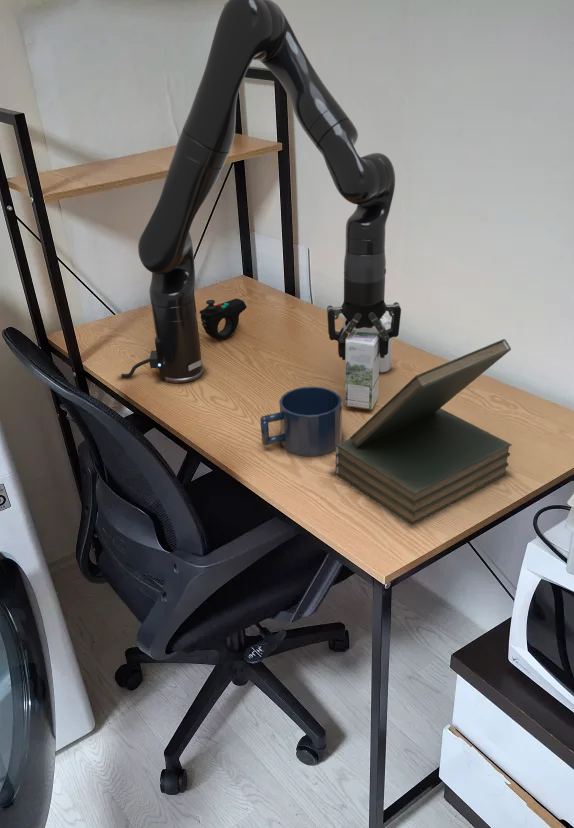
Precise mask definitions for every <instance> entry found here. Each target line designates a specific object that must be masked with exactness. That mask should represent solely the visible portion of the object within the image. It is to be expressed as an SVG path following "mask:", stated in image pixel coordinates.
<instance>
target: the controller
mask: <svg viewBox="0 0 574 828" xmlns="http://www.w3.org/2000/svg"><path fill="white" fill-rule="evenodd" d="M205 303H206V305H207V306H206V307H205V308H203V309H201V310H199V315H200V322H201V327H203V330H204V332H205V333H206V335H208V336H209V337H210V338H212V339H214V340H217V341H224V340H227V339H228V338H230V337H231V336H233V334H235V332H236V330H237V328H238V326H239V323H240V315H241V314H242V313H243V312H244V311H245V310H246V309H247V305H246V303H245V301H244V299H243V300H242V299H240V298H233V299H230V300H227V301H225V302H222V303H217V304H216V301H215V300H214V299H208V300H206V301H205ZM215 304H216V305H215ZM222 320H224V326H223V328H222V329H221V330H220V331H219V325H220V322H221V321H222Z"/></svg>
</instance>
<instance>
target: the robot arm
mask: <svg viewBox="0 0 574 828" xmlns="http://www.w3.org/2000/svg"><path fill="white" fill-rule="evenodd" d="M220 12H221V13H220V15H219V18H218V21H217V24H216V28H215V31H214V34H213V39H212V42H211V46H210V50H209V53H208V58H207V61H206V63H205V64H206V65H205V68H204V71H203V74H202V76H201V80H200V83H199V85H198V87H197V89H196V94H195V95H194V99H193V101H192V105H191V107H190V110H189V113H188V115H187V118H186V119H185V122H184V124H183V127H182V130H181V132H180V134H179V137H178V140H177V143H176V146H175V149H174V152H173V155H172V158H171V161H170V164H169V167H168V170H167V174H166V177H165V179H164V183H163V186H162V190H161V192H160V196H159V199H158V200H157V204H156V205H155V208H154V210H153V212H152V214H151V216H150V218H149V220H148V222H147V224H146V226H145V227H144V230H143V231H142V233H141V234H140V236H139V239H138V243H137V252H138V257H139V259H140V263H141V264H142V265H143V267H144V268H145V269H146V270H147V271H149V272H150V273H151V279H150V280H151V281H150V284H149V290H148V291H149V292H148V293H149V299H150V306H151V314H152V320H153V326H154V333H155V337H154V346H155V350H150V353H149V358H147V359H144V360H141V361H139V362H137V363H136V364H134V365H133V366H132V368H131V370H130V371H129V373H121V375H120V376H121V378H130V377H132V376H133V375H134V373H135V371H136V370H137V369H138V368H139V367H141V366H144V365H146V364H148V363H149V367H150V369H158V372H159V373H158V374H159V380H160V381H161V382H163V381H164V382H165V381H166V382H168V383H172V384H183V383H189V382H193V381H196V380H198V379H200V378H201V377H202V376H203V375H204V366H203V358H202V350H201V349H202V348H201V342H200V334H199V333H200V332H199V323H198V314H197V306H196V298H195V286H196V285H195V284H196V269H195V267H196V266H195V257H194V255H195V254H194V246H193V239H192V236H191V233H190V230H191V227H192V224H193V222H194V219H195V217H196V215H197V214H198V212H199V210H200V208H201V207H202V205H203V204H204V202H205V201H206V199H207V197H208V195H209V194H210V193H211V191H212V190H213V187H214V186H215V184H216V182H217V180H218V179H219V176H220V174H221V173H222V171H223V168H224V166H225V164H226V161H227V159H228V157H229V155H230V152H231V150H232V148H233V147H232V146H233V144H234V140H235V135H236V120H237V118H236V117H237V100H238V95H239V92H240V88H241V86H242V84H243V82H244V79H245V77H246V75H247V71H248V70H249V68H250V66H251V64H252V62H253V60H254V61H259V62H261V63H262V64H263V65H264V66H265V67H266V68H267V69H268V70H269V71H270V72H271V73H272V74H273V75H274V76H275V78H276V79H277V80H278V81H279V83H280V84H281V86H282V88H284V91H285V93H286V95H287V97H288V99H289V102H290V104H291V107H292V111H293V113H294V116H295V118H296V119H297V121H298V123H299V125H300V127H301V128H302V129H303V131H304V132H305V134H306V135H307V137H308V138H309V139H310V141H311V142H312V144H313V145H314V146H315V147H316V149H317V150H318V152H319V153H320V154H321V155H322V157H323V160H324V162H325V166H326V169H327V170H328V172H329V175H330V177H331V180H332V182H333V184H334V186H335V188H336V190H337V192H338V193H339V194H340V195H341V196H342V198H344V200H345V201H347V202H348V203H350V204H353V205H356V209H355V210H354V211H353V213H352V214H351V215H350V216H349V217H348V218H347V221H346V223H345V253H344V260H343V303H342V304H341V306H333V305H328V306H327V307H326V315H327V317H326V318H327V328H328V329H327V332H328V338H329V340H330V341H336V342H337V354H338V357H339V358H341V361H345V345H346V339H347V338H348V336H349V334H350V333H351V332H352V330H353V329H354V327H355V328H356V329H360V328H363V327H365V328H372V327H373V326H375V328H376V329H377V331H378V332H379V334H380V335H381V336H380V357H381V358H385V355H387V354H388V342H389V339H390V338H392V339H393V338H397V337H399V334H400V327H401V326H400V324H401V314H402V308H401V305H400V303H399V302H397V301H395V302H393V304H387V303H386V302H385V293H386V292H385V291H386V274H387V268H386V265H387V259H386V226H387V225H386V224H387V221H388V217H389V215H390V210H391V206H392V201H393V198H394V194H395V189H396V172H395V169H394V168H395V167H394V165H393V162H392V161H391V160H390V158H389V157H388V156H387V155H386V154H384V153H381V152H372V153H369V154H366V155H363V156H360V155H359V154H358V152H357V149H356V148H355V145H356V144H357V141H358V139H359V132H358V129H357V128H356V126H355V124H354V123H353V121H352V120H351V119H350V118H349V116H348V115H347V113H346V112H345V110H344V109H343V108H342V106H341V105H340V104H339V103H338V101H337V100H336V99H335V98H334V96H333V95H332V93H331V92H330V91H329V89H328V88H327V86H326V85H325V84H324V82H323V80H322V79H321V78H320V76H319V74H318V73H317V72H316V70H315V68H314V67H313V65H312V63H311V61H310V60H309V58H308V57H307V55H306V53H305V51H304V50H303V48H302V46H301V44H300V42H299V40H298V38H297V36H296V34H295V33H294V30H293V28H292V25H291V24H290V23H289V20H288V19H287V17H286V15H285V14H284V11H283V10H282V9H281V6H279V5H278V4H277V3H276V2H275V1H273V0H228V1H227V2H226V3H225V4H224V6H223V8H222V11H220ZM387 312H388V314H389V315H388V316H389V317H391V321H390V322H391V328H390V329H388V330H386V329H385V327H384V325H383V324H382V322H381V320H380V319H381V318H382V316H385V314H386V313H387ZM341 314H342V315H343V317H344V318H345V320H344V321H343V323H342V326H341V328H340V330H339V331H336V320H338V319H339V316H340V315H341Z"/></svg>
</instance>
